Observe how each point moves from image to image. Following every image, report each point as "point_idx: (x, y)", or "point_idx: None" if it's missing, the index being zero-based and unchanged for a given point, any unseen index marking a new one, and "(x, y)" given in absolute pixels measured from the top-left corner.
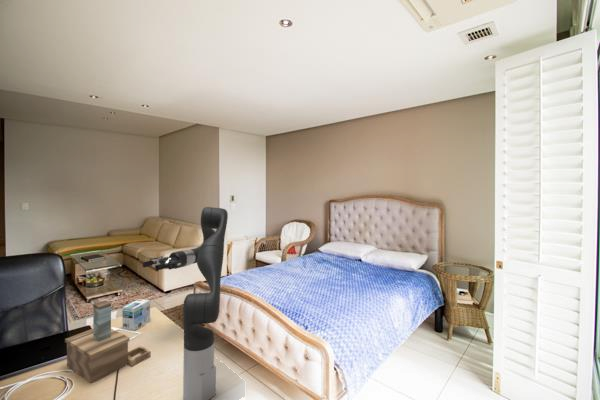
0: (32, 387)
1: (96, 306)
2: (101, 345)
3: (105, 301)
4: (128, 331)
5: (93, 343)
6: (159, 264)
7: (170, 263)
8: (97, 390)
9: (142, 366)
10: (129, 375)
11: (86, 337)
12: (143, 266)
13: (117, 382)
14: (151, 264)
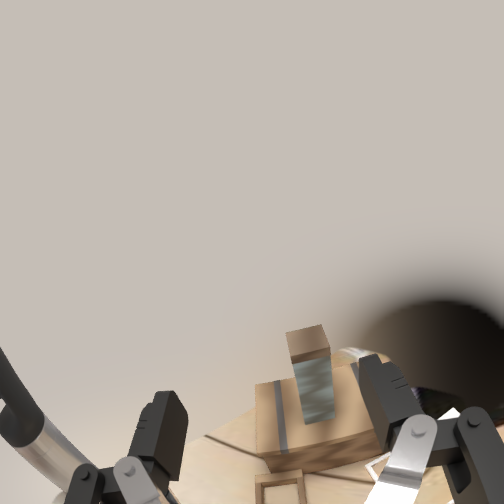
0: (335, 366)
1: (301, 331)
2: (277, 403)
3: (318, 346)
4: (449, 502)
5: None
6: (155, 418)
7: (78, 473)
8: (240, 423)
9: (237, 493)
10: (231, 467)
11: (348, 387)
12: (359, 381)
13: (231, 448)
14: (384, 444)
